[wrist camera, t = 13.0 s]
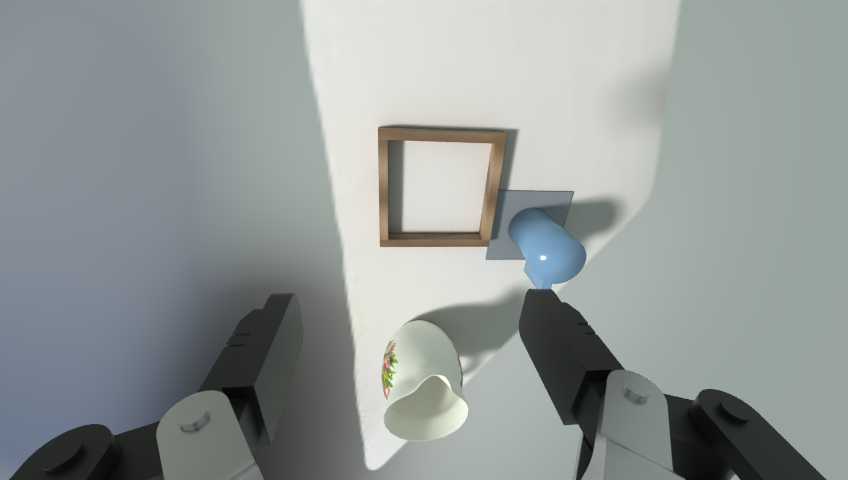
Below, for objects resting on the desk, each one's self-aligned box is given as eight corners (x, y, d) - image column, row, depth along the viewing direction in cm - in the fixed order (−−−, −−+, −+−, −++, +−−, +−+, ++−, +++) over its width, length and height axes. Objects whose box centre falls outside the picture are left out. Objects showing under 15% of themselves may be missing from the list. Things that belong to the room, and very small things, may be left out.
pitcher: (377, 379, 53) (374, 469, 41) (387, 292, 45) (386, 373, 33) (441, 380, 55) (456, 466, 43) (461, 297, 47) (487, 375, 35)
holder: (378, 127, 35) (378, 129, 33) (502, 131, 36) (507, 134, 35) (380, 240, 41) (380, 246, 40) (485, 240, 43) (488, 246, 41)
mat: (497, 190, 40) (497, 190, 39) (572, 191, 41) (573, 192, 41) (485, 259, 44) (486, 259, 44) (553, 258, 45) (554, 259, 45)
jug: (511, 207, 41) (542, 240, 33) (552, 207, 41) (592, 239, 33) (502, 261, 44) (528, 302, 36) (539, 260, 45) (573, 300, 37)
